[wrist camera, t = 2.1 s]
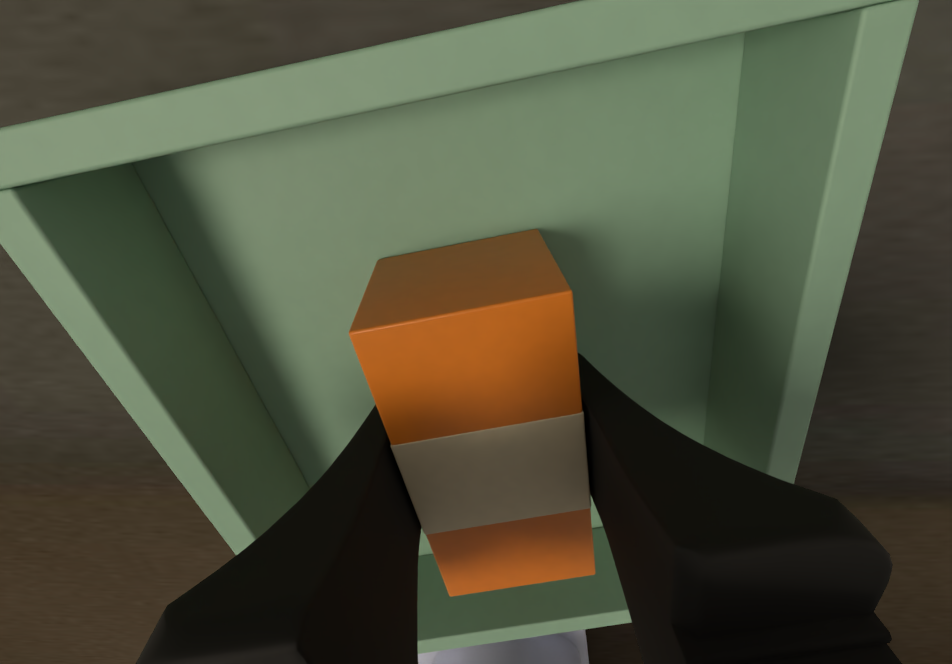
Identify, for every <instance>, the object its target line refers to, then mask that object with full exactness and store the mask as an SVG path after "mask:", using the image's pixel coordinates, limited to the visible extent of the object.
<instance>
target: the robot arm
mask: <svg viewBox="0 0 952 664" xmlns="http://www.w3.org/2000/svg"><path fill="white" fill-rule="evenodd" d="M578 364H579V376H580V388H581V400H582V410H583V412H584V422H585V434H586V447H587V459H588V472H589V484H590V494H591V497H592V499H593V502H594V504H595V506H596V509H597V511H598V514H599V516H600V519H601V522H602V524H603V527H604V530H605V533H606V536H607V539H608V542H609V546H610V549H611V552H612V556H613V559H614V562H615V566H616V569H617V572H618V576H619V579H620V583H621V586H622V589H623V593H624V596H625V600H626V603H627V607H628V610H629V614H630V617H631V621H632V624H633V628H634V631H635V635H636V638H637V642H638V646H639V649H640V653H641V656H642V660H643V664H902V663H901V662H900V660H899V659H898V658H897V657H896V655H895V654H894V653H893V651H892V650H891V649H890V647H889V646H888V645H887V643H890V641H891V640H892V638H891V635H890V632H889V631H888V630H887V628H886V627H885V626H884V624H883V623H882V622H881V621H880V619H879V618H878V617H877V616H876V614H875V613H874V610H875V608H876V606H877V604H878V602H879V600H880V598H881V596H882V594H883V592H884V590H885V588H886V586H887V584H888V582H889V578H890V575H891V571H892V561H891V558H890V554H889V553H888V552H887V551H886V549H885V548H884V547H883V546H882V545H881V544H880V543H879V542H878V541H877V540H876V538H875V537H874V536H873V535H872V534H871V533H870V532H869V531H868V529H867V528H866V527H865V526H864V525H863V524H862V523H861V522H860V521H859V520H858V519H857V518H856V517H855V516H854V515H853V514H852V513H851V512H850V511H849V510H848V509H847V508H846V507H845V506H844V505H843V504H842V503H841V502H839V501H838V500H837V499H835V498H832V497H829V496H826V495H824V494H821V493H818V492H815V491H812V490H809V489H806V488H803V487H801V486H798V485H795V484H792V483H789V482H786V481H783V480H781V479H778V478H775V477H773V476H770V475H768V474H766V473H763V472H761V471H758V470H756V469H753V468H751V467H749V466H746V465H744V464H742V463H740V462H737V461H735V460H733V459H731V458H728V457H726V456H724V455H722V454H720V453H718V452H716V451H714V450H712V449H710V448H708V447H706V446H704V445H702V444H700V443H698V442H697V441H695V440H693V439H691V438H689V437H687V436H686V435H684V434H682V433H681V432H679V431H677V430H676V429H674V428H672V427H671V426H669V425H667V424H666V423H664V422H663V421H661V420H660V419H658V418H657V417H655V416H654V415H652V414H651V413H650V412H648V411H647V410H646V409H644V408H643V407H641V406H640V405H639V404H637V403H636V402H635V401H633V400H632V399H631V398H630V397H628V396H627V395H626V394H625V393H623V392H622V391H621V390H620V389H619V388H617V387H616V386H615V385H614V384H613V383H611V382H610V381H609V380H608V379H607V378H606V377H605V376H604V375H602V374H601V373H600V372H599V371H598V370H597V369H596V368H595V367H594V366H593V365H592V364H591V363H590V362H589V361H588V360H587V359H586V358H585V357H584V356H583V355H581V354H580V353H578ZM420 535H421V524H420V521H419V519H418V516H417V514H416V511H415V508H414V506H413V503H412V501H411V498H410V496H409V493H408V490H407V488H406V485H405V483H404V480H403V477H402V475H401V472H400V470H399V467H398V465H397V462H396V459H395V457H394V454H393V452H392V449H391V443H390V440H389V437H388V435H387V432H386V430H385V427H384V424H383V422H382V419H381V417H380V414H379V411H378V409H377V406H376V404H375V406H374V407H373V409H372V410H371V412H370V413H369V415H368V416H367V418H366V419H365V421H364V422H363V424H362V425H361V426H360V428H359V429H358V431H357V432H356V433H355V435H354V436H353V438H352V439H351V440H350V442H349V443H348V444H347V446H346V447H345V448H344V450H343V451H342V452H341V453H340V455H339V456H338V457H337V458H336V460H335V461H334V462H333V464H332V465H331V466H330V467H329V468H328V470H327V471H326V472H325V473H324V474H323V475H322V476H321V478H320V479H319V480H318V481H317V482H316V483H315V484H314V485H313V486H312V487H311V488H310V489H309V490H308V492H307V493H306V494H305V495H304V496H303V497H302V498H301V499H300V500H299V501H298V502H297V503H296V504H295V505H294V506H293V507H291V508H290V509H289V510H288V511H287V512H286V513H285V514H284V515H283V516H282V517H281V518H280V519H279V520H277V521H276V522H275V523H274V524H273V525H272V526H271V527H270V528H269V529H268V530H267V531H266V532H264V533H263V534H262V535H261V536H260V537H258V538H257V539H256V540H255V541H254V542H252V543H251V544H250V545H249V546H248V547H246V548H245V549H244V550H243V551H241V552H240V553H239V554H238V555H236V556H235V557H234V558H233V559H231V560H230V561H229V562H228V563H226V564H225V565H224V566H222V567H221V568H220V569H218V570H217V571H216V572H214V573H213V574H211V575H210V576H209V577H207V578H206V579H204V580H203V581H202V582H200V583H199V584H197V585H196V586H195V587H193V588H192V589H190V590H189V591H188V592H186V593H185V594H183V595H182V596H180V597H179V598H178V599H176V600H175V601H173V602H172V603H170V604H169V605H167V607H166V609H165V610H164V612H163V614H162V616H161V618H160V620H159V621H158V623H157V625H156V627H155V629H154V631H153V633H152V634H151V636H150V638H149V640H148V642H147V644H146V646H145V647H144V649H143V651H142V653H141V655H140V657H139V659H138V661H137V662H136V664H418V663H419V664H589V658H588V649H587V640H586V632H585V629H584V630H577V631H570V632H564V633H557V634H550V635H543V636H536V637H530V638H523V639H516V640H509V641H502V642H496V643H489V644H482V645H475V646H469V647H462V648H455V649H448V650H441V651H435V652H428V653H421V654H418V613H417V600H418V557H419V544H420Z"/></svg>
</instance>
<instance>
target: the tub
mask: <svg viewBox="0 0 952 664" xmlns="http://www.w3.org/2000/svg"><path fill="white" fill-rule="evenodd" d="M918 2H919V0H579V1H575V2H570V3H566V4H561V5H557V6H552V7H548V8H543V9H538V10H534V11H529V12H525V13H520V14H516V15H511V16H507V17H502V18H498V19H493V20H488V21H484V22H479V23H475V24H470V25H466V26H461V27H457V28H452V29H448V30H443V31H438V32H434V33H429V34H425V35H420V36H416V37H411V38H407V39H402V40H398V41H393V42H388V43H384V44H379V45H375V46H370V47H366V48H361V49H357V50H352V51H347V52H343V53H338V54H334V55H329V56H325V57H320V58H316V59H311V60H307V61H302V62H297V63H293V64H288V65H284V66H279V67H275V68H270V69H266V70H261V71H257V72H252V73H247V74H243V75H238V76H234V77H229V78H225V79H220V80H216V81H211V82H207V83H202V84H197V85H193V86H188V87H184V88H179V89H175V90H170V91H166V92H161V93H156V94H152V95H147V96H143V97H138V98H134V99H129V100H125V101H120V102H116V103H111V104H106V105H102V106H97V107H93V108H88V109H84V110H79V111H75V112H70V113H66V114H61V115H56V116H52V117H47V118H43V119H38V120H34V121H29V122H25V123H20V124H16V125H11V126H6V127H2V128H0V244H1V245H2V246H3V248H4V249H5V250H6V252H7V253H8V254H9V256H10V257H11V258H12V259H13V261H14V262H15V263H16V265H17V266H18V267H19V269H20V270H21V271H22V273H23V274H24V275H25V277H26V278H27V279H28V281H29V282H30V283H31V285H32V286H33V287H34V289H35V290H36V291H37V293H38V294H39V295H40V296H41V298H42V299H43V300H44V302H45V303H46V304H47V306H48V307H49V308H50V310H51V311H52V312H53V314H54V315H55V316H56V318H57V319H58V320H59V322H60V323H61V324H62V326H63V327H64V328H65V330H66V331H67V332H68V333H69V335H70V336H71V337H72V339H73V340H74V341H75V343H76V344H77V345H78V347H79V348H80V349H81V351H82V352H83V353H84V355H85V356H86V357H87V359H88V360H89V361H90V363H91V364H92V365H93V367H94V368H95V369H96V370H97V372H98V373H99V374H100V376H101V377H102V378H103V380H104V381H105V382H106V384H107V385H108V386H109V388H110V389H111V390H112V392H113V393H114V394H115V396H116V397H117V398H118V400H119V401H120V402H121V404H122V405H123V406H124V407H125V409H126V410H127V411H128V413H129V414H130V415H131V417H132V418H133V419H134V421H135V422H136V423H137V425H138V426H139V427H140V429H141V430H142V431H143V433H144V434H145V435H146V437H147V438H148V439H149V441H150V442H151V443H152V445H153V446H154V447H155V448H156V450H157V451H158V452H159V454H160V455H161V456H162V458H163V459H164V460H165V462H166V463H167V464H168V466H169V467H170V468H171V470H172V471H173V472H174V474H175V475H176V476H177V478H178V479H179V480H180V482H181V483H182V484H183V485H184V487H185V488H186V489H187V491H188V492H189V493H190V495H191V496H192V497H193V499H194V500H195V501H196V503H197V504H198V505H199V507H200V508H201V509H202V511H203V512H204V513H205V515H206V516H207V517H208V519H209V520H210V521H211V522H212V524H213V525H214V526H215V528H216V529H217V530H218V532H219V533H220V534H221V536H222V537H223V538H224V540H225V541H226V542H227V544H228V545H229V546H230V548H231V549H232V550H233V552H234V553H235V554H236V555H238V554H239V553H240V552H241V551H243V550H244V549H245V548H246V547H248V546H249V545H250V544H251V543H252V542H254V541H255V540H256V539H257V538H258V537H260V536H261V535H262V534H263V533H264V532H266V531H267V530H268V529H269V528H270V527H271V526H272V525H273V524H274V523H275V522H276V521H277V520H279V519H280V518H281V517H282V516H283V515H284V514H285V513H286V512H287V511H288V510H289V509H290V508H291V507H293V506H294V505H295V504H296V503H297V502H298V501H299V500H300V499H301V498H302V497H303V496H304V495H305V494H306V493H307V492H308V490H309V489H310V488H311V487H312V486H313V485H314V484H315V483H316V482H317V481H318V480H319V479H320V478H321V476H322V475H323V474H324V473H325V472H326V471H327V470H328V468H329V467H330V466H331V465H332V464H333V462H334V461H335V460H336V458H337V457H338V456H339V455H340V453H341V452H342V451H343V450H344V448H345V447H346V446H347V444H348V443H349V442H350V440H351V439H352V438H353V436H354V435H355V433H356V432H357V431H358V429H359V428H360V426H361V425H362V424H363V422H364V421H365V419H366V418H367V416H368V415H369V413H370V412H371V410H372V409H373V407H374V406H375V401H374V398H373V396H372V393H371V391H370V388H369V385H368V383H367V380H366V378H365V375H364V372H363V370H362V367H361V365H360V362H359V359H358V357H357V354H356V352H355V349H354V346H353V344H352V341H351V339H350V336H349V330H350V328H351V325H352V323H353V320H354V317H355V315H356V312H357V310H358V307H359V305H360V302H361V300H362V297H363V295H364V292H365V290H366V287H367V285H368V282H369V280H370V277H371V275H372V272H373V270H374V267H375V265H376V262H377V260H379V259H384V258H389V257H394V256H399V255H404V254H409V253H415V252H420V251H425V250H430V249H435V248H440V247H445V246H451V245H456V244H461V243H466V242H471V241H476V240H481V239H487V238H492V237H497V236H502V235H507V234H512V233H517V232H522V231H528V230H533V229H538V231H539V232H540V234H541V236H542V238H543V240H544V241H545V243H546V245H547V247H548V249H549V250H550V252H551V254H552V256H553V258H554V259H555V261H556V263H557V265H558V267H559V268H560V270H561V272H562V274H563V276H564V277H565V279H566V281H567V283H568V285H569V286H570V288H571V290H572V292H573V303H574V315H575V327H576V339H577V352H578V353H580V354H581V355H583V356H584V357H585V358H586V359H587V360H588V361H589V362H590V363H591V364H592V365H593V366H594V367H595V368H596V369H597V370H598V371H599V372H600V373H601V374H602V375H604V376H605V377H606V378H607V379H608V380H609V381H610V382H611V383H613V384H614V385H615V386H616V387H617V388H619V389H620V390H621V391H622V392H623V393H625V394H626V395H627V396H628V397H630V398H631V399H632V400H633V401H635V402H636V403H637V404H639V405H640V406H641V407H643V408H644V409H646V410H647V411H648V412H650V413H651V414H652V415H654V416H655V417H657V418H658V419H660V420H661V421H663V422H664V423H666V424H667V425H669V426H671V427H672V428H674V429H676V430H677V431H679V432H681V433H682V434H684V435H686V436H687V437H689V438H691V439H693V440H695V441H697V442H698V443H700V444H702V445H704V446H706V447H708V448H710V449H712V450H714V451H716V452H718V453H720V454H722V455H724V456H726V457H728V458H731V459H733V460H735V461H737V462H740V463H742V464H744V465H746V466H749V467H751V468H753V469H756V470H758V471H761V472H763V473H766V474H768V475H770V476H773V477H775V478H778V479H781V480H783V481H786V482H789V483H792V484H794V481H795V477H796V473H797V469H798V466H799V462H800V458H801V454H802V450H803V446H804V442H805V439H806V435H807V431H808V427H809V423H810V419H811V415H812V411H813V408H814V404H815V400H816V396H817V392H818V388H819V384H820V381H821V377H822V373H823V369H824V365H825V361H826V357H827V354H828V350H829V346H830V342H831V338H832V334H833V330H834V327H835V323H836V319H837V315H838V311H839V307H840V303H841V300H842V296H843V292H844V288H845V284H846V280H847V276H848V273H849V269H850V265H851V261H852V257H853V253H854V249H855V246H856V242H857V238H858V234H859V230H860V226H861V222H862V218H863V215H864V211H865V207H866V203H867V199H868V195H869V191H870V188H871V184H872V180H873V176H874V172H875V168H876V164H877V161H878V157H879V153H880V149H881V145H882V141H883V137H884V134H885V130H886V126H887V122H888V118H889V114H890V110H891V107H892V103H893V99H894V95H895V91H896V87H897V83H898V80H899V76H900V72H901V68H902V64H903V60H904V56H905V53H906V49H907V45H908V41H909V37H910V33H911V29H912V26H913V22H914V18H915V14H916V10H917V6H918ZM590 497H591V494H590ZM590 510H591V522H592V534H593V546H594V559H595V571H596V573H595V574H594V575H589V576H582V577H576V578H569V579H563V580H556V581H550V582H543V583H537V584H530V585H524V586H517V587H511V588H504V589H498V590H491V591H485V592H478V593H472V594H465V595H459V596H452V597H451V596H449V594H448V591H447V588H446V586H445V583H444V580H443V578H442V575H441V573H440V570H439V567H438V565H437V562H436V560H435V557H434V554H433V552H432V549H431V547H430V544H429V541H428V539H427V536H426V535H425V534H424V532H423V529H422V527H421V535H420V544H419V557H418V600H417V613H418V654H421V653H428V652H435V651H441V650H448V649H455V648H462V647H469V646H475V645H482V644H489V643H496V642H502V641H509V640H516V639H523V638H530V637H536V636H543V635H550V634H557V633H564V632H570V631H577V630H584V629H591V628H597V627H604V626H611V625H618V624H625V623H631V622H632V621H631V617H630V614H629V610H628V607H627V603H626V600H625V596H624V593H623V589H622V586H621V583H620V579H619V576H618V572H617V569H616V566H615V562H614V559H613V556H612V552H611V549H610V546H609V542H608V539H607V536H606V533H605V530H604V527H603V524H602V522H601V519H600V516H599V514H598V511H597V509H596V506H595V504H594V502H593V499H592V497H591V508H590Z"/></svg>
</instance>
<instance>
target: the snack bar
mask: <svg viewBox="0 0 952 664" xmlns="http://www.w3.org/2000/svg"><path fill="white" fill-rule="evenodd" d="M349 336H350V339H351V341H352V344H353V346H354V349H355V352H356V354H357V357H358V359H359V362H360V365H361V367H362V370H363V372H364V375H365V378H366V380H367V383H368V385H369V388H370V391H371V393H372V396H373V398H374V401H375V404H376V406H377V409H378V411H379V414H380V417H381V419H382V422H383V424H384V427H385V430H386V432H387V435H388V437H389V440H390V443H391V449H392V452H393V454H394V457H395V459H396V462H397V465H398V467H399V470H400V472H401V475H402V477H403V480H404V483H405V485H406V488H407V490H408V493H409V496H410V498H411V501H412V503H413V506H414V508H415V511H416V514H417V516H418V519H419V521H420V524H421V527H422V529H423V532H424V534H425V535H426V536H427V539H428V541H429V544H430V547H431V549H432V552H433V554H434V557H435V560H436V562H437V565H438V567H439V570H440V573H441V575H442V578H443V580H444V583H445V586H446V588H447V591H448V594H449V596H451V597H452V596H459V595H465V594H472V593H478V592H485V591H491V590H498V589H504V588H511V587H517V586H524V585H530V584H537V583H543V582H550V581H556V580H563V579H569V578H576V577H582V576H589V575H594V574H595V573H596V571H595V559H594V546H593V534H592V522H591V510H590V508H591V497H590V484H589V472H588V459H587V447H586V434H585V422H584V412H583V410H582V400H581V388H580V376H579V364H578V352H577V339H576V327H575V315H574V303H573V292H572V290H571V288H570V286H569V285H568V283H567V281H566V279H565V277H564V276H563V274H562V272H561V270H560V268H559V267H558V265H557V263H556V261H555V259H554V258H553V256H552V254H551V252H550V250H549V249H548V247H547V245H546V243H545V241H544V240H543V238H542V236H541V234H540V232H539V231H538V229H533V230H528V231H522V232H517V233H512V234H507V235H502V236H497V237H492V238H487V239H481V240H476V241H471V242H466V243H461V244H456V245H451V246H445V247H440V248H435V249H430V250H425V251H420V252H415V253H409V254H404V255H399V256H394V257H389V258H384V259H379V260H377V262H376V265H375V267H374V270H373V272H372V275H371V277H370V280H369V282H368V285H367V287H366V290H365V292H364V295H363V297H362V300H361V302H360V305H359V307H358V310H357V312H356V315H355V317H354V320H353V323H352V325H351V328H350V330H349Z"/></svg>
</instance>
